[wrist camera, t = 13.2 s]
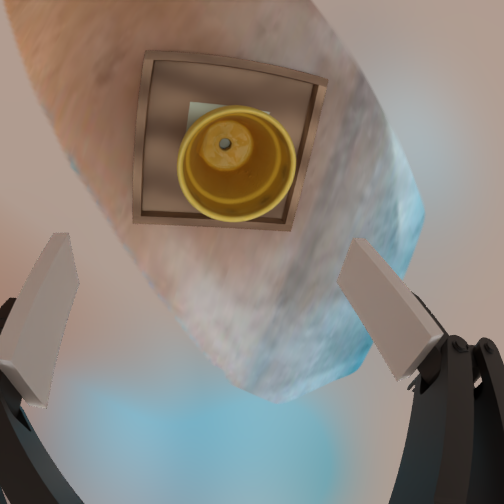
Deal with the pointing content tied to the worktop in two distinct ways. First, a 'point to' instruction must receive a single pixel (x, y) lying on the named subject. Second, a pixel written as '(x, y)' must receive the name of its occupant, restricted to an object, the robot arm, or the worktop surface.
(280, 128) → the plant pot
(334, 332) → the worktop surface
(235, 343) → the worktop surface
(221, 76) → the walnut tray
